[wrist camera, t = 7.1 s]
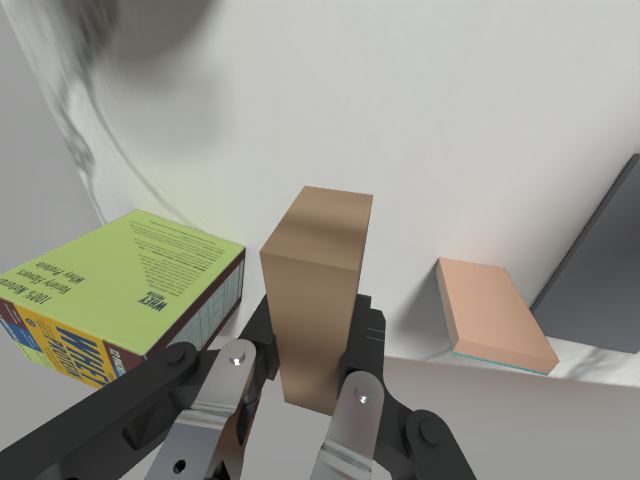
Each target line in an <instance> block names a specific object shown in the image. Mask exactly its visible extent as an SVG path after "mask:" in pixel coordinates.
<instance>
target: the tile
mask: <svg viewBox="0 0 640 480" xmlns="http://www.w3.org/2000/svg"><path fill="white" fill-rule="evenodd" d="M435 274H436V279H437V284H438V289H439V294H440V298H441V303H442V308H443V313H444V318H445V322H446V327H447V332H448V337H449V342H450V347H451V351H452V354H456V355H461V356H465V357H469V358H473V359H478V360H482V361H486V362H491V363H495V364H499V365H503V366H508V367H512V368H516V369H521V370H525V371H529V372H533V373H538V374H542V375H546V376H547V375H548V374H549V373H550V372H551V371H552V369H553V368H554V367H555V366H556V365H557V364H558V363H559V362H560V361H559V359H558V358H557V356H556V354H555V353H554V351H553V349H552V347H551V346H550V344H549V342H548V341H547V339H546V337H545V336H544V334H543V332H542V331H541V329H540V327H539V326H538V324H537V322H536V320H535V319H534V317H533V315H532V314H531V312H530V310H529V309H528V307H527V305H526V304H525V302H524V300H523V298H522V297H521V295H520V293H519V292H518V290H517V288H516V287H515V285H514V283H513V282H512V280H511V278H510V276H509V275H508V273H507V271H506V270H505V269H504V268H498V267H493V266H487V265H481V264H475V263H469V262H463V261H457V260H451V259H445V258H440V257H439V259H438V262H437V265H436V267H435Z"/></svg>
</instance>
